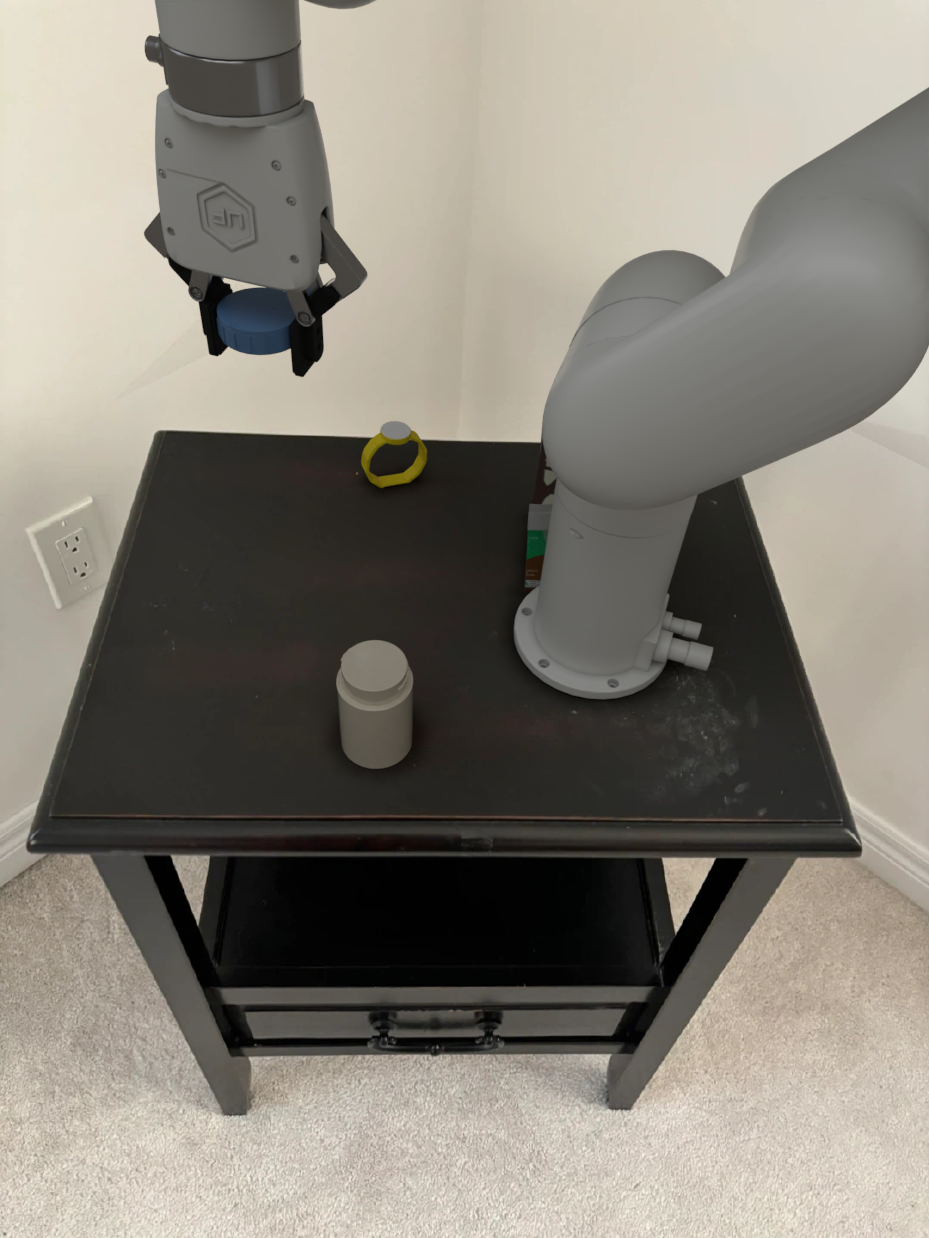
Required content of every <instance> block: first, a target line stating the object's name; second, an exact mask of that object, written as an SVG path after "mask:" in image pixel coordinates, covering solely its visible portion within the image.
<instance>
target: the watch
mask: <svg viewBox="0 0 929 1238" xmlns="http://www.w3.org/2000/svg"><path fill="white" fill-rule="evenodd" d="M409 441H413V442H416V443H417V444H418V454H417V456H416V458H415V460H414V462H413V464H412V465H411V466H409V467H408V468H407V469H406V470H405V471H404V472H400V473H395V474H387V475H381V476H377V475H376V474H374V473H372V472H371V471H370V468H371V467H370V466H371V460H372V458H373V456H374V455H375V454H376V452H377V451H378V449H380V448H381V447H384V445H386V444H388V445H392V446H401V445H405V444H407V443H408V442H409ZM360 459H361V460H360V463H361V464H360V465H361V467H362V469H363V471H364V473H365V475H366V477H367V479H368V481H369V482H370V483H371V484H372V485H375V486H376V487H378V488H379V489H380V488H381V489H384V488H388V487H392V486H398V485H404V484H410V483H411V482H412V481H414V480H415V479H416V478H418V477H419V476H420V474H421V473H422V471H423V470H424V468H425V466H426V464H427V462H428V449H427V447H426V445H425V444H424V442H423V440H422V439H421V437H420V436H419V434H418V433H417V432H416V431H415V430H412V429H411V427H410V426H409V425H408V424H407V423H405V422H403V421H400V420H399V421H398V420H390V421H387V422H385V423H383V424H382V425H381V427H380V429H379V433H377V434H375V435H374V436H373V437H371V439H369V441H368V442H367V444H366V445H365V446H364V448H363V451H362V453H361V458H360Z"/></svg>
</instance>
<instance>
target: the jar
mask: <svg viewBox="0 0 929 1238" xmlns="http://www.w3.org/2000/svg"><path fill="white" fill-rule="evenodd" d="M340 662H341V663H340V668H339V670H338V672H337V674H336V678H335V679H336V680H335V683H336V685H335V686H336V697H337V698H336V699H337V709H338V720H339V721H338V722H339V732H340V744H341V748H342V751H343V752H344V754H345V756H346V757H347V758H348V759H349V760H350V761H352V762H353V763H354V764H356V765H358V766H359V767H362V768H366V769H372V770H380V769H386V768H390V767H392V766H395V765H396V764H398V763H400V762H401V761H402V760H403V759H405V758H406V756H408V753H409V752H410V750H411V748H412V744H413V731H414V729H413V727H414V726H413V725H414V675H413V672H412V669H411V667H410V666H409V661H408V659H407V657H406V655H405V653H404V652H403V650H402V649H401V648H399V647H398V646H397V645H395V644H394V643H391V642H389V641H385V640H381V639H380V640H379V639H372V640H371V639H370V640H369V639H368V640H364V641H361V642H359V643H356V644H355V645H353V646H352V647H349V648H348V649H347V651H345V652H344V653H343V655H342V656H341V658H340Z"/></svg>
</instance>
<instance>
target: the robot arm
mask: <svg viewBox="0 0 929 1238" xmlns="http://www.w3.org/2000/svg"><path fill="white" fill-rule="evenodd" d="M303 1H305V2H307V3H310V4H313V5H316V6H320V7H324V8H328V9H334V10H352V9H357V8H362V7H364V6H367V5H370V4H373V3H374V2H375V1H377V0H303ZM154 4H155V11H156V18H157V24H158V31H159V33H158V35H157V36H156V35H151V34H150V35H148V36H147V37H146V39H145V40H144V55H145V57H146V59H147V61H148V62H149V63H154V64H158V65H159V66H160V67H161V68H162V69H163V75H164V79H165V81H164V82H165V85H166V86H167V88H166V89H164V90H162V91H161V92H159V93H158V94H157V96H156V104H155V107H156V108H155V119H154V124H155V125H154V126H155V127H154V156H155V157H154V159H155V177H156V188H157V198H158V207H159V208H158V209H159V212H158V213H157V214H156V215H155V216H154V218H153V219H152V220H151V222H150V223H149V224H148V226H147V227H146V228H145V229H144V231H143V235H144V238H145V240H146V241H147V242H148V243H149V244H150V245H151V246H152V247H153V248H154V249H155V250H156V251H157V252H158V253H159V254H160V255H161V256H162V258H164V259H167V262H168V265H169V267H170V269H172V270H173V272H175V274H176V275H177V276H178V277H179V278H180V279H181V280H182V281H183V282H184V283H185V284H186V286H187V292H188V295H189V296H190V298H191V299H192V300H193V301H195V302H198V309H199V315H200V320H201V327H202V333H203V335H204V336H205V337H206V344H207V350H208V354H209V355H210V356H213V357H220V356H222V354H223V353H224V352H225V351H226V350H227V349H228V348H229V347H228V346H227V345H226V344H224V342H223V341H222V339H221V337H220V335H219V333H218V326H217V319H216V318H218V317H217V306H218V304H219V302H220V301H221V300H222V299H223V298H224V297H226V296H227V295H229V294H231V293H233V292H234V290H233V288H231V287H232V286H231V283H228V282H225V281H224V279H228V280H232V281H236V282H240V283H245V284H249V285H252V286H253V285H254V286H257V287H263V288H271V289H276V290H280V291H285V293H286V295H287V298H288V300H289V302H290V305H291V307H292V310H293V312H294V315H295V319H294V320H293V321H292V323H291V324H290V326H289V335H290V347H291V349H290V359H291V370H292V373H293V374H294V376H296V377H299V378H304V377H305V376H306V375H307V373H308V372H309V370H310V369H311V368H312V367H313V365H314V364H315V363H318V362H320V360H321V359H322V358H323V357H322V356H323V354H324V350H325V349H324V348H325V343H324V341H325V340H324V325H323V324H324V323H323V316H324V315H325V314H326V313H328V312H329V311H330V310H331V309H332V308H334V307H335V306H336V304H338V303H339V302H341V301H342V300H344V299H345V298H347V297H348V296H349V295H351V294H353V293H355V291H357V290H359V289H360V287H362V285H363V284H364V282H366V280H367V278H368V275H369V274H368V271H367V269H366V268H365V267H364V265H363V264H362V263H361V261H360V260H359V259H358V257H357V256H356V255H355V254H354V252H353V251H352V250H351V248H350V247H349V246H348V244H347V243H346V241H344V239H343V238H342V237H341V235H340V234H339V232H338V231H337V230H336V228H335V227H336V226H335V214H334V202H333V194H332V185H331V184H332V183H331V179H330V172H329V171H330V170H329V163H328V158H327V153H326V147H325V143H324V138H323V133H322V130H321V124H320V122H319V118H318V114H317V110H316V106H315V103H314V102H313V101H311V100H308V99H306V98H305V84H304V83H305V82H304V66H303V65H304V64H303V48H302V47H303V46H302V39H301V38H302V33H301V32H302V31H301V14H300V12H301V11H300V0H154ZM326 264H327V265H328V266H329V268H330V269H331V270H332V271H333V273H334V275H335V277H333V278H331V279H330V280H328V281H327V282H326V283H323V280H322V278H321V275H320V272H319V270H320V265H326ZM928 349H929V86H928V87H927V88H925V89H924V90H922V91H920V92H919V93H917V94H915V95H914V96H912V97H911V98H909V99H907V100H906V101H904V102H903V103H901V104H900V105H898V106H897V107H894V109H891V110H890V111H889V112H887V113H886V114H884V115H882V116H880V117H879V118H878V119H876V120H874V121H873V122H871V123H870V124H868V125H866V126H865V127H863V128H862V129H860V130H858V131H857V132H855V133H854V134H852V135H851V136H849V137H847V138H845V139H843V141H841V142H840V143H838V144H836V145H835V146H833V147H832V148H830V149H828V150H826V151H824V152H822V153H821V154H820V155H818V156H816V157H814V158H813V159H811V160H810V161H808V162H806V163H804V164H803V165H801V166H800V167H798V168H796V169H794V170H793V171H791V172H789V173H788V174H787V175H785V176H784V177H782V178H781V179H779V180H778V181H776V182H775V183H773V185H771V187H769V188H768V190H767V191H766V192H765V193H764V194H763V195H762V196H761V198H760V199H758V201H757V203H756V204H755V205H754V206H753V208H752V211H751V212H750V213H749V216H748V218H747V221H746V222H745V225H744V227H743V229H742V232H741V235H740V238H739V241H738V243H737V247H736V250H735V254H734V257H733V261H732V263H731V267H730V271H729V274H728V275H727V276H725V274H724V273H723V272H722V271H721V270H720V269H719V268H718V267H716V266H715V264H713V263H712V262H710V261H709V260H707V259H705V258H704V257H702V256H699V255H697V254H695V253H691V252H688V251H683V250H677V249H662V250H655V251H651V252H648V253H644V254H642V255H639V256H637V257H634V258H632V259H630V260H629V261H628V262H625V263H624V264H623V265H621V266H620V267H618V269H616V270H615V271H614V272H612V274H610V276H608V278H607V279H606V280H605V281H604V282H603V283H602V285H601V286H600V287H599V289H598V290H597V291H596V293H595V294H594V296H593V297H592V299H591V301H590V302H589V304H588V306H587V308H586V310H585V311H584V314H583V316H582V318H581V319H580V322H579V324H578V326H577V328H576V331H575V333H574V335H573V337H572V339H571V342H570V343H569V345H568V349H567V351H566V353H565V356H564V358H563V360H562V362H561V364H560V367H559V369H558V371H557V372H556V374H555V377H554V379H553V383H552V384H551V387H550V390H549V392H548V393H547V394H548V395H547V397H546V401H545V404H544V409H543V414H542V419H541V420H542V421H541V433H542V439H543V446H544V450H545V454H546V457H547V460H548V463H549V465H550V467H551V469H552V470H553V472H554V474H555V475H556V477H557V481H556V486H555V492H554V498H553V505H552V511H551V517H550V524H549V530H548V536H547V543H546V549H545V555H544V562H543V568H542V574H541V581H540V586H538V587H537V588H535V589H534V590H532V591H531V592H530V593H529V594H528V593H527V595H525V597H524V598H523V600H522V602H520V604H519V606H518V608H517V610H516V614H515V617H514V622H513V623H514V624H513V641H514V645H515V648H516V651H517V654H518V655H519V657H520V659H521V661H522V662H523V664H524V665H525V666H526V667H527V668H528V670H529V671H530V672H531V673H532V674H533V675H534V676H536V677H537V678H538V679H539V680H540V681H542V682H543V683H545V684H546V685H549V686H550V687H552V688H553V689H555V690H558V691H560V692H563V693H565V694H568V695H570V696H573V697H580V698H582V699H583V698H584V699H590V700H610V699H611V700H612V699H620V698H623V697H627V696H631V695H633V694H635V693H638V692H640V691H642V690H644V689H646V688H647V687H648V686H649V685H651V684H652V683H654V681H656V679H658V677H659V676H660V675H661V674H662V673H663V670H664V668H665V666H666V665H667V662H668V660H670V661H673V662H677V663H681V664H683V665H684V666H685V667H689V668H693V669H696V670H700V671H703V672H707V671H708V670H709V666H710V663H711V661H712V657H713V653H714V646H710V645H706V644H703V643H700V642H699V643H698V642H696V641H698V639H699V638H700V637H699V636H700V633H701V630H702V626H703V624H702V623H700V622H696V621H692V620H688V619H682V618H679V617H675V616H673V614H674V612H671V611H668V610H667V607H668V603H669V600H670V594H669V593H668V591H669V589H670V588H669V587H670V584H671V582H672V578H673V575H674V571H675V568H676V564H677V563H678V559H679V555H680V553H681V549H682V545H683V543H684V539H685V535H686V534H687V533H686V532H687V529H688V526H689V522H690V520H691V515H692V514H693V511H694V508H695V504H696V502H697V498H698V495H700V494H702V493H705V492H707V491H709V490H712V489H714V488H717V487H719V486H721V485H724V484H727V483H729V482H731V481H733V480H736V479H738V478H740V477H743V476H746V475H748V474H749V473H752V472H754V471H757V470H760V469H761V468H764V467H766V466H769V465H771V464H773V463H775V462H778V461H780V460H783V459H785V458H788V457H789V456H792V455H794V454H796V453H799V452H801V451H803V450H806V449H808V448H810V447H813V446H815V445H817V444H820V443H822V442H824V441H826V440H828V439H831V438H833V437H835V436H837V435H840V434H842V433H843V432H845V431H847V430H849V429H851V428H853V427H855V426H857V425H858V424H859V423H861V422H863V421H865V420H866V419H867V418H869V417H870V416H872V415H873V414H875V413H876V412H877V411H878V410H880V409H881V408H882V407H883V406H885V405H886V404H887V403H889V401H891V400H892V399H893V398H894V397H895V396H896V395H897V394H898V393H899V392H900V391H901V390H902V389H903V388H904V387H905V386H906V384H907V383H908V382H909V381H910V380H911V378H912V377H913V376H914V374H916V371H917V370H918V368H919V367H920V365H921V363H922V361H923V359H924V358H925V355H926V354H927V352H928ZM674 634H675V635H679V636H681V637H683V638H686V639H687V638H688V639H691V641H687V640H683V639H681V638H680V639H679V638H676V637H673V636H674ZM692 640H695V641H692Z"/></svg>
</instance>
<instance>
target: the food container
mask: <svg viewBox="0 0 929 1238" xmlns="http://www.w3.org/2000/svg"><path fill="white" fill-rule="evenodd" d="M540 433H541V434H540V435H541V436H540V448H539V458H538V463H537V464H538V465H537V470H536V476H535V482H534V487H533V488H534V490H533V495H532V501H531V503H529V504H528V517H527V529H526V530H527V539H526V557H525V559H526V560H525V576H524V577H525V578H524V594H527V595H528V594H529V593H530V592H531V591H532V590H534V589H535V588H537V587H538V586H540V581H541V574H542V568H543V562H544V555H545V549H546V543H547V536H548V530H549V524H550V517H551V511H552V505H553V498H554V492H555V486H556V481H557V477H556V475H555V474H554V472H553V470H552V469H551V467H550V465H549V463H548V460H547V457H546V454H545V450H544V446H543V439H542V432H540Z"/></svg>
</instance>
